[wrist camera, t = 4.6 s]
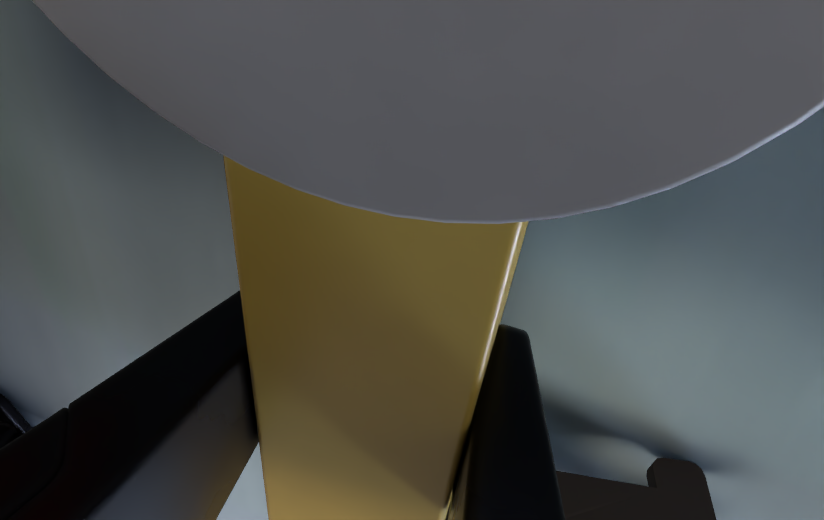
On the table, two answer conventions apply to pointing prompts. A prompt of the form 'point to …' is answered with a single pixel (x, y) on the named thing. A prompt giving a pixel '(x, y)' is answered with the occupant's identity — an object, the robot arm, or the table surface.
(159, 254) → the table surface
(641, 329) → the table surface
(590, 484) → the clip-on lamp
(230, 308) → the robot arm
